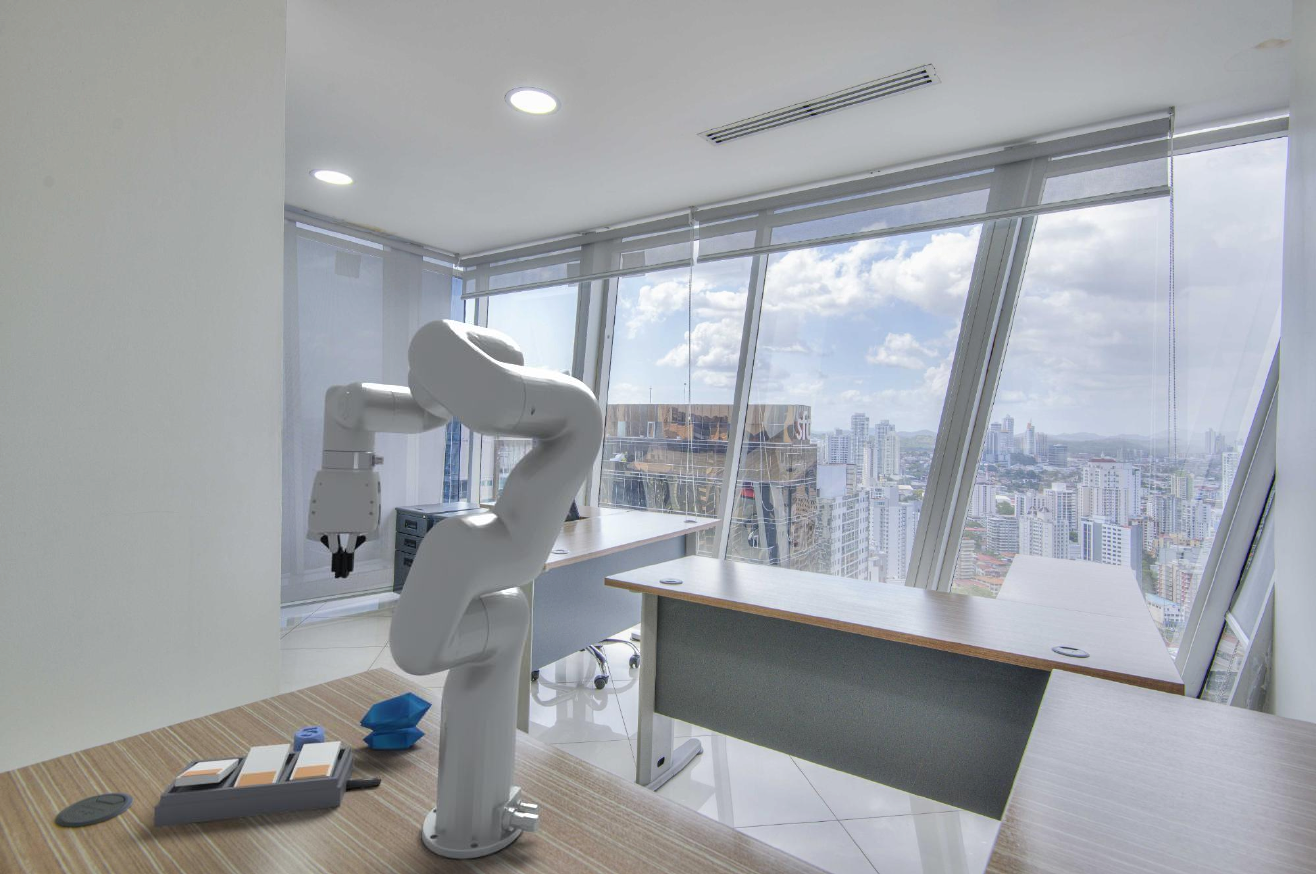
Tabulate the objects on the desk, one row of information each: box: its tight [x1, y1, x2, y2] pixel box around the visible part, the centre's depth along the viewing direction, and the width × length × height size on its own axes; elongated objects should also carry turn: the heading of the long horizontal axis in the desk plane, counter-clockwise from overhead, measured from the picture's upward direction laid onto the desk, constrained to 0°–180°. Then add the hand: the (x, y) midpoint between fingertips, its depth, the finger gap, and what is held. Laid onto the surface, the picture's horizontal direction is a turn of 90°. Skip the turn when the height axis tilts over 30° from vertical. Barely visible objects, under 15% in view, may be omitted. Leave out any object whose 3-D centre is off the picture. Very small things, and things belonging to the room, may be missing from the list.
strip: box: [153, 746, 382, 828], centre depth 84 cm, size 26×9×4 cm, turn 106°
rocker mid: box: [234, 743, 291, 787], centre depth 84 cm, size 5×7×1 cm
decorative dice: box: [292, 725, 325, 752], centre depth 95 cm, size 4×4×4 cm
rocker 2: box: [289, 740, 342, 781], centre depth 86 cm, size 5×7×1 cm
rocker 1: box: [175, 759, 239, 786], centre depth 82 cm, size 5×7×1 cm
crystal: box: [359, 691, 433, 750], centre depth 99 cm, size 7×9×12 cm
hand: (342, 576), depth 99 cm, fingers closed
